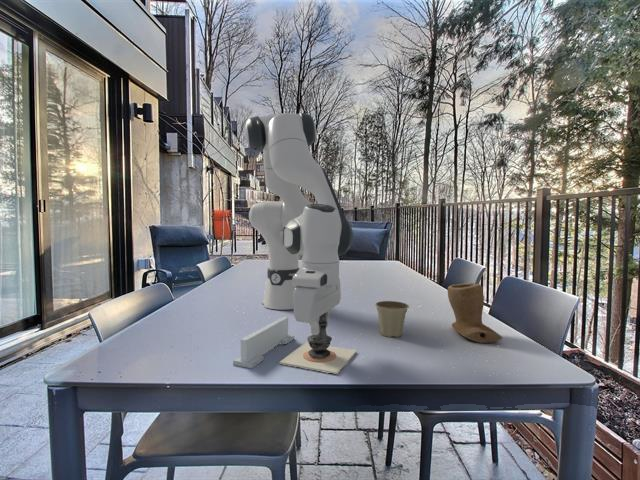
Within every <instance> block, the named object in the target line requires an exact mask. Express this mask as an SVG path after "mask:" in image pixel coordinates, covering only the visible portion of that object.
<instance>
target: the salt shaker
mask: <svg viewBox="0 0 640 480" xmlns="http://www.w3.org/2000/svg"><path fill="white" fill-rule="evenodd" d="M318 322H319V326H321V329H320V330H321V332H320V333H319V334H318V335H313V334H311V335H309V336H308V337H307V338H306V340H307V341H308V343H309V345H310V347H311V348H312V349H311V350H310V351H309V352H308V354H309V355H310V356H312V357H319V358H321V357H327V356H329V355H330V351H329V350H327V348H328V347H329V346H331V341H333V338H332V337H331V336H330V335H328V334H327V328H326V324H327V322H326V313H324V314H323V315H321V316H320V317H319V321H318Z"/></svg>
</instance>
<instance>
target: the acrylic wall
mask: <svg viewBox="0 0 640 480" xmlns="http://www.w3.org/2000/svg"><path fill="white" fill-rule="evenodd" d="M293 339H294V340H295V335H294V334H289V317H287V316H282V317H280V318H278V319H276V320H274V321H273V322H270V323H269V324H267V325H265V326H263V327H261V328H259V329H258V330H255V331H253V332H251V333H250V334H248V335H246V336H244V337H242V338H240V356H239V357H237V358H234V359H233V360H232V365H233V366H236V367H242V368H248V369H252V370H253V368H255V367H256V366H257V364H258V365H259V364H260V362H261V361H262V362H264V359H265V358H264V355H266V354H267V353H269V352H270V351H272V350H274V349H275V348H276V347H278V346H279V345H282V344H287V343H288V342H290V341H291V342H292V340H293ZM294 340H293V341H294ZM291 342H290V343H291ZM280 343H281V344H280ZM278 344H279V345H278ZM288 344H289V343H288ZM288 344H287V345H288ZM277 345H278V346H277ZM275 346H276V347H275ZM274 347H275V348H274ZM271 349H272V350H271ZM269 350H270V351H269ZM268 351H269V352H268ZM266 352H267V353H266ZM265 353H266V354H265ZM263 354H264V355H263ZM262 355H263V356H262ZM262 362H261V363H262Z"/></svg>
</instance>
